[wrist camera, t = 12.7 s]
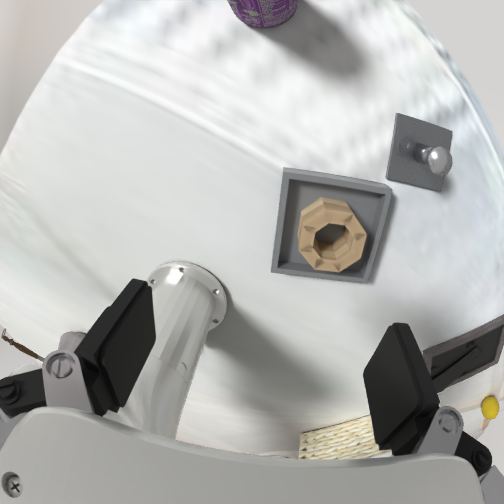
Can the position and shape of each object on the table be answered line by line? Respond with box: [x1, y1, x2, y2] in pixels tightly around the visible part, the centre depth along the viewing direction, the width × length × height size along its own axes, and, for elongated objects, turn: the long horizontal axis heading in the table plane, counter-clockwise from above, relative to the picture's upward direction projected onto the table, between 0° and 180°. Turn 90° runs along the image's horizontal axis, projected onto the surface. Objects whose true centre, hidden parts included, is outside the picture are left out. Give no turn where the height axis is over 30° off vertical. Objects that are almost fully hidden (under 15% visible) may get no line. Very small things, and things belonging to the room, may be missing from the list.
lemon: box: [481, 397, 499, 419], centre depth 46 cm, size 6×6×8 cm
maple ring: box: [298, 197, 367, 272], centre depth 31 cm, size 7×7×4 cm
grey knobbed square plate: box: [385, 113, 452, 192], centre depth 26 cm, size 8×8×6 cm
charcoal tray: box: [271, 167, 392, 284], centre depth 33 cm, size 12×12×2 cm
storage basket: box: [298, 415, 392, 460], centre depth 51 cm, size 24×16×15 cm
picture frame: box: [423, 314, 504, 393], centre depth 42 cm, size 16×2×21 cm
